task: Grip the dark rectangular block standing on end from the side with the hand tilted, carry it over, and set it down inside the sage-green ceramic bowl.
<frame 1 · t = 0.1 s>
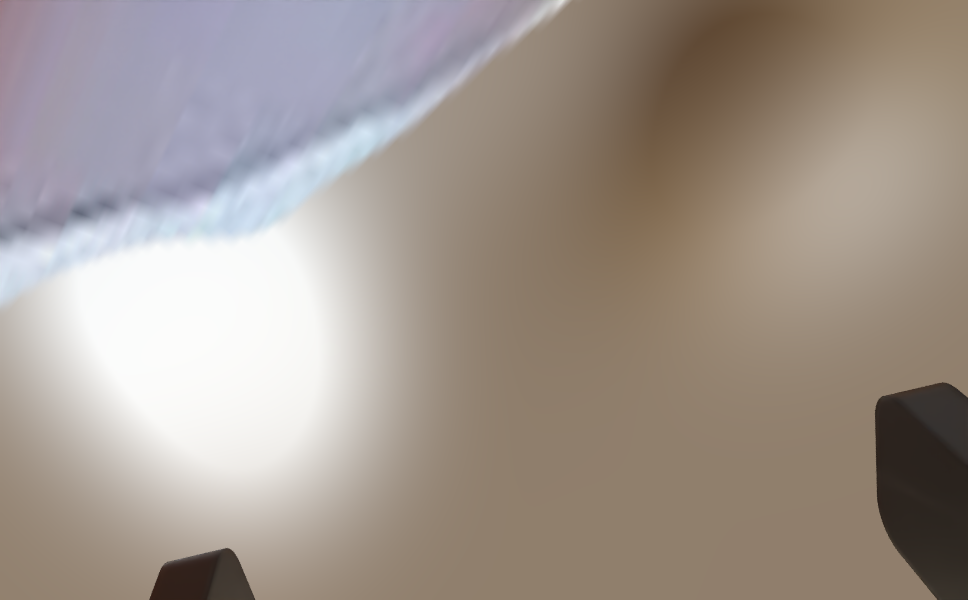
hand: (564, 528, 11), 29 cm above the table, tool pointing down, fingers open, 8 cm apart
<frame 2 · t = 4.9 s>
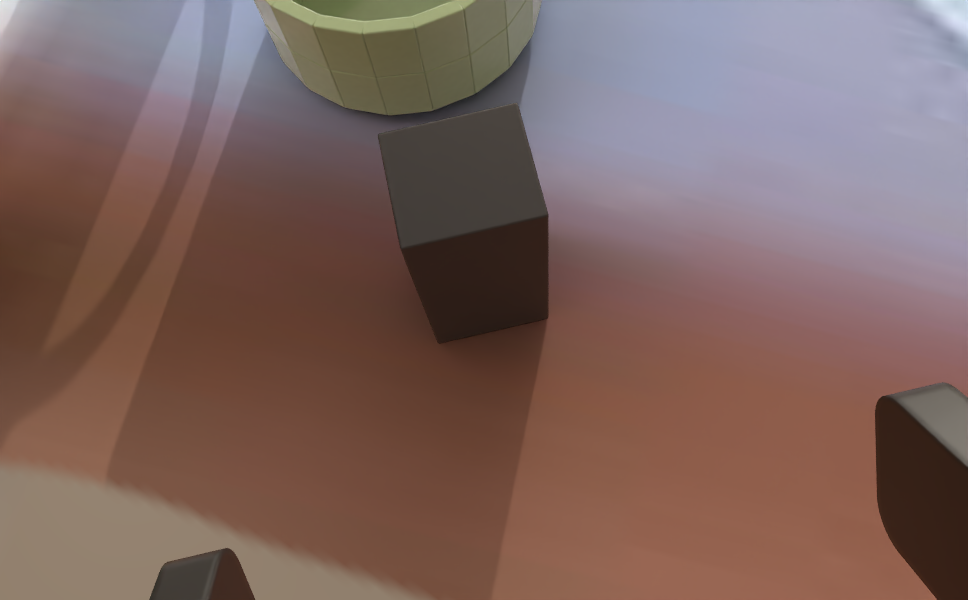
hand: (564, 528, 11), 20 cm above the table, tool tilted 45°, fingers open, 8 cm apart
bowl: (406, 6, 39), on the table
dark rectangular block: (482, 284, 34), on the table
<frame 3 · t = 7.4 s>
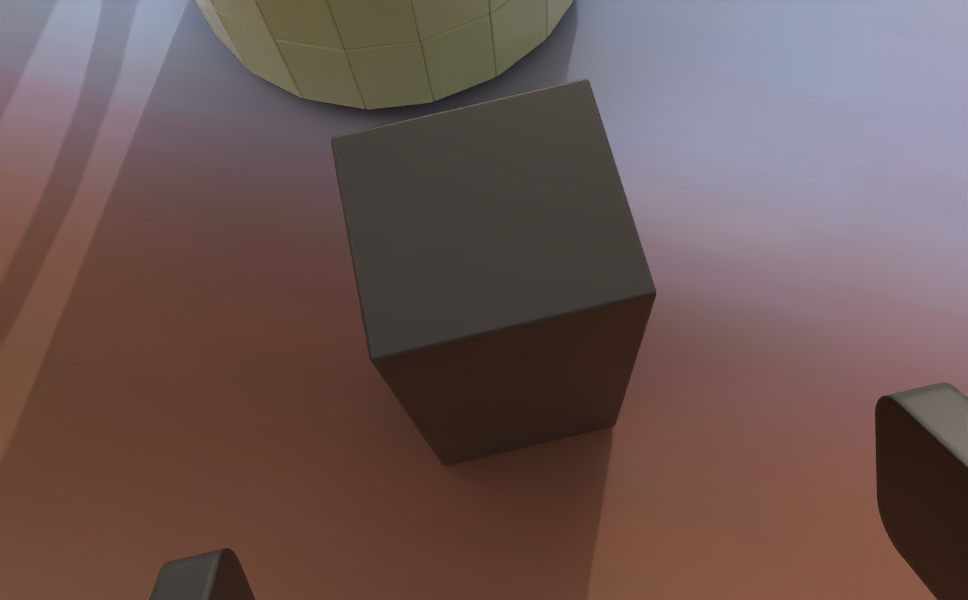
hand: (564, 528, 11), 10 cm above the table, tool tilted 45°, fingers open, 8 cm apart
dark rectangular block: (511, 370, 22), on the table
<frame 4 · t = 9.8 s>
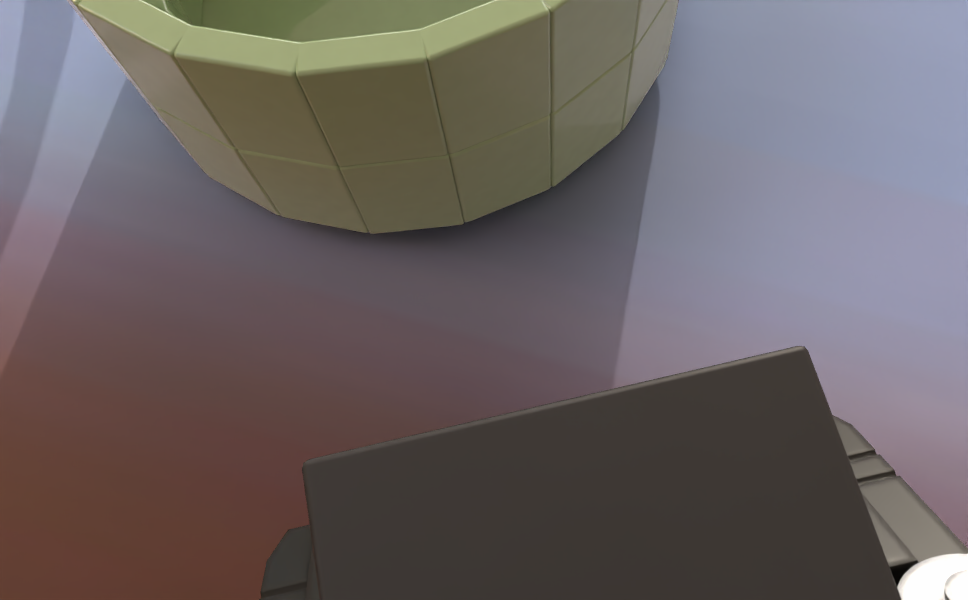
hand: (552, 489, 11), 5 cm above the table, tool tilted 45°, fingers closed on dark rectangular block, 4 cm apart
bowl: (408, 6, 20), on the table
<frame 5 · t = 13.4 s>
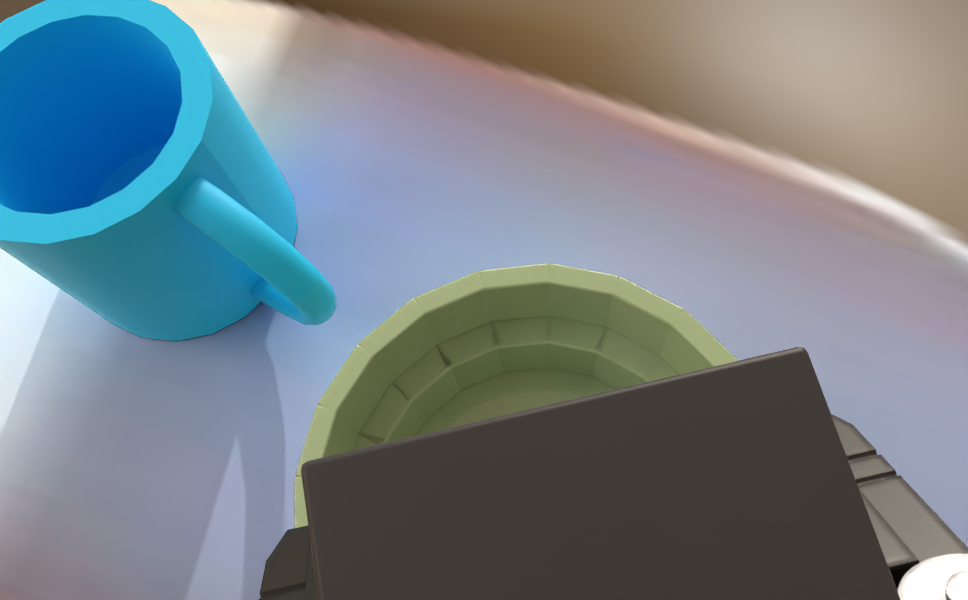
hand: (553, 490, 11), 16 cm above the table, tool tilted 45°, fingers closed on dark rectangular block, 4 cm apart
bowl: (540, 519, 27), on the table
mug: (228, 263, 31), on the table
when the fingers open (5 cm above the table, at t = 17.2 s): dark rectangular block stays where it is, resting on bowl.
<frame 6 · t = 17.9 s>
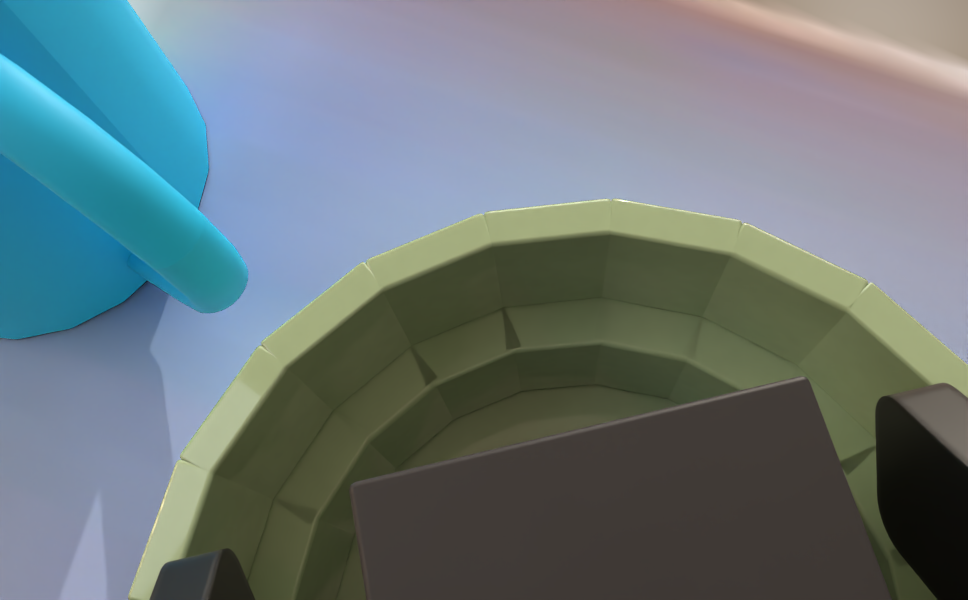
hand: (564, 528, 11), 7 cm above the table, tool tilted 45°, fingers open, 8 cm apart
mug: (104, 221, 20), on the table
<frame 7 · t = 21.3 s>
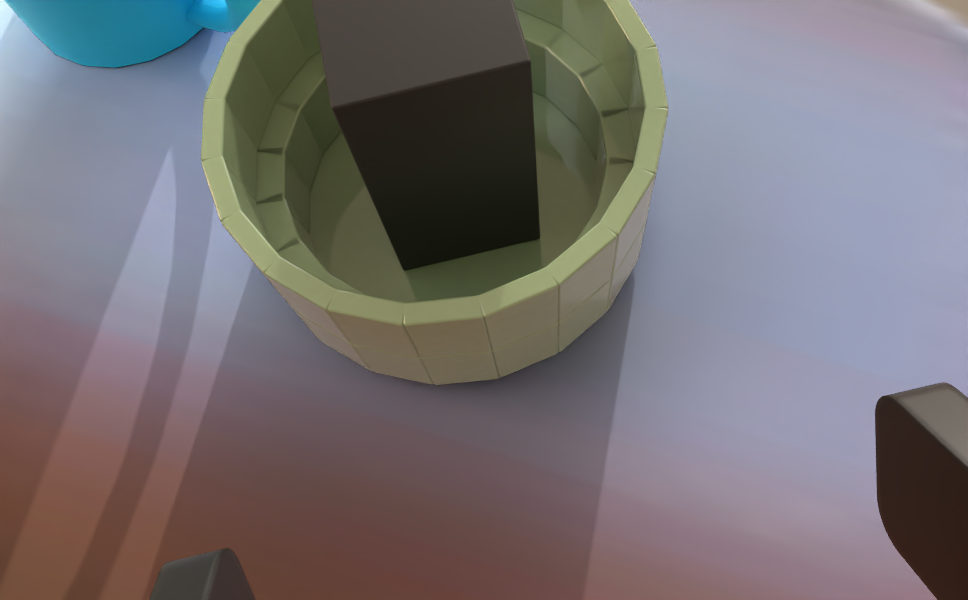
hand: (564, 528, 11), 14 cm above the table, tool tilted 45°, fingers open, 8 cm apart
bowl: (455, 207, 28), on the table
mug: (168, 2, 32), on the table
dark rectangular block: (459, 200, 27), point 1 cm above the table, touching bowl
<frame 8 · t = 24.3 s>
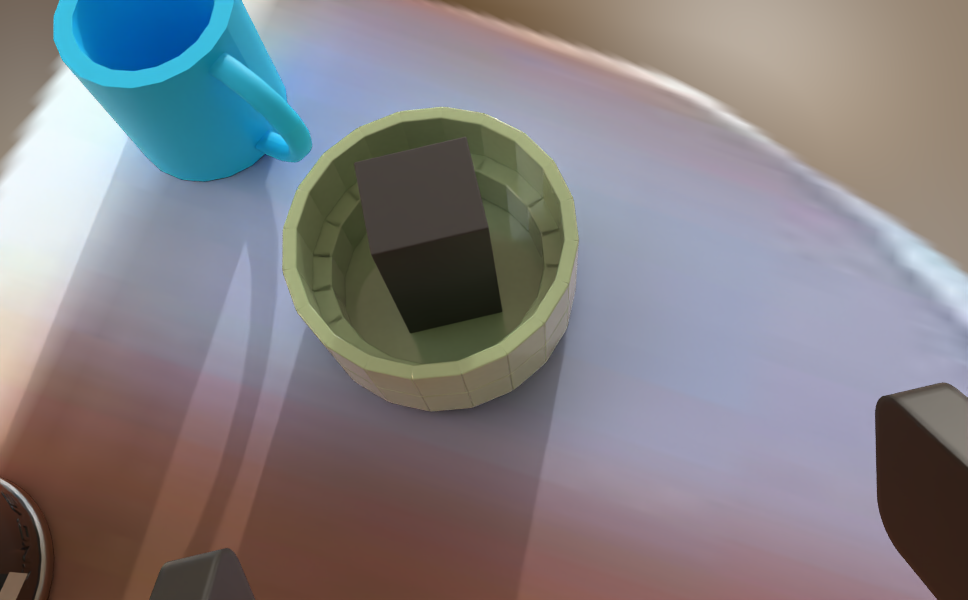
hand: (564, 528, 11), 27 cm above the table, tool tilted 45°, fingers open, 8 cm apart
bowl: (445, 288, 41), on the table
mug: (240, 132, 45), on the table
dark rectangular block: (447, 284, 40), point 1 cm above the table, touching bowl
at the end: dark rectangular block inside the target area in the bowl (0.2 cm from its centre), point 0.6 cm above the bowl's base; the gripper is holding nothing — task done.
